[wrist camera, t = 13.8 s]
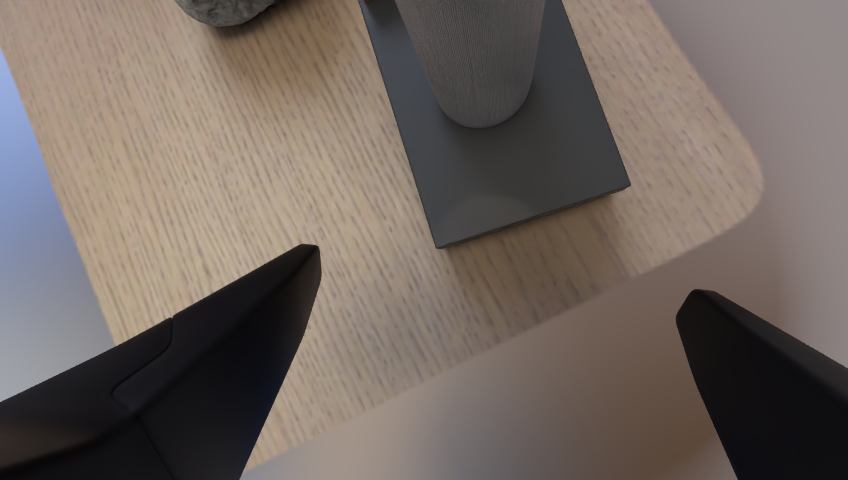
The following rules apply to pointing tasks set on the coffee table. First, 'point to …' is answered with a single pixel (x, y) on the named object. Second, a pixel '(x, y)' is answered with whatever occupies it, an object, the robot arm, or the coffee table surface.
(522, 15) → the planter
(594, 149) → the stand with wooden pole
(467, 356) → the coffee table surface
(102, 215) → the coffee table surface
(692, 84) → the coffee table surface
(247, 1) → the decorative stone
